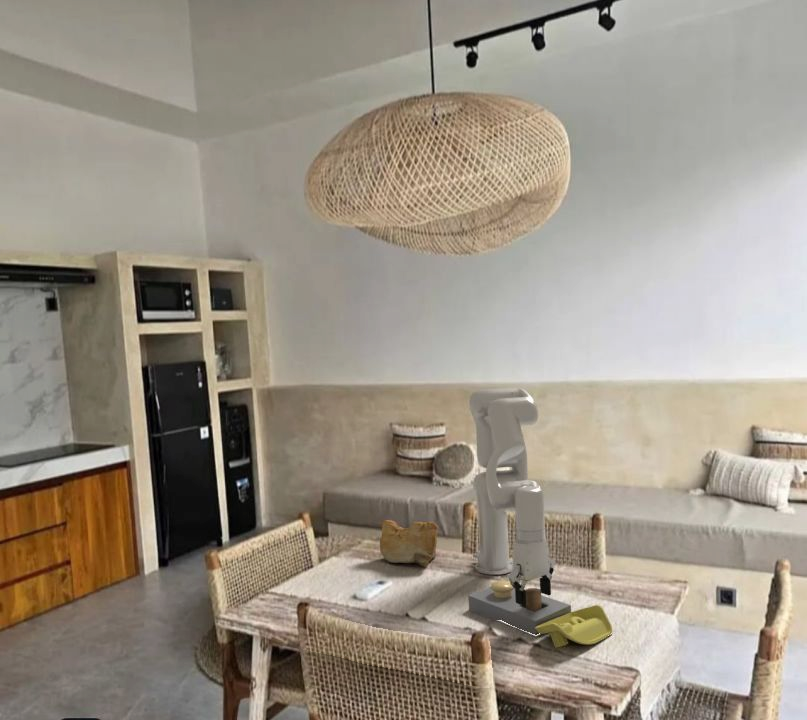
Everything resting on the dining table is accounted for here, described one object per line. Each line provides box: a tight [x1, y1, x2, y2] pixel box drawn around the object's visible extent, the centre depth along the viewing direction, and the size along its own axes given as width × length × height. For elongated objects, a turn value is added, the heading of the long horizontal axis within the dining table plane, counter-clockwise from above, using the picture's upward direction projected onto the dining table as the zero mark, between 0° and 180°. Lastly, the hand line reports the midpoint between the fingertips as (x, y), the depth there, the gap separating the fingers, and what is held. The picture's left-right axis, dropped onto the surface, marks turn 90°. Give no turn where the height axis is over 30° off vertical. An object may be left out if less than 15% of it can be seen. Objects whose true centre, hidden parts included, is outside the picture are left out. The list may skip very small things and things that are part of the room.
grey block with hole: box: [467, 580, 572, 635], centre depth 180 cm, size 24×14×7 cm, turn 38°
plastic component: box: [535, 604, 613, 649], centre depth 164 cm, size 20×7×10 cm
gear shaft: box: [525, 587, 542, 612], centre depth 175 cm, size 4×4×8 cm
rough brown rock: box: [379, 519, 439, 568], centre depth 229 cm, size 23×17×15 cm
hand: (533, 599), depth 175 cm, fingers open, 9 cm apart
